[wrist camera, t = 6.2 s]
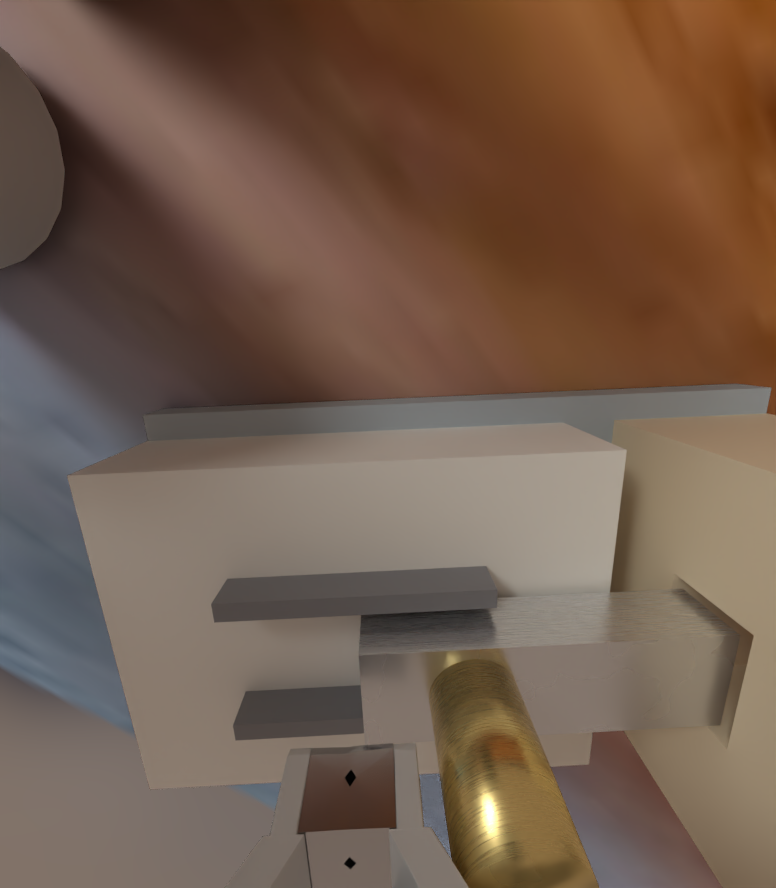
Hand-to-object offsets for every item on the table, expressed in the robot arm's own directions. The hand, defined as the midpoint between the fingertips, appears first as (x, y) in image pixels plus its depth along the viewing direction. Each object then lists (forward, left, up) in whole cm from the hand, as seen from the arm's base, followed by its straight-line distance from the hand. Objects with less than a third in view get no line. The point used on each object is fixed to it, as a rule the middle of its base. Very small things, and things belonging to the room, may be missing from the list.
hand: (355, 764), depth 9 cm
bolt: (+5, 0, -3) cm, 6 cm away
